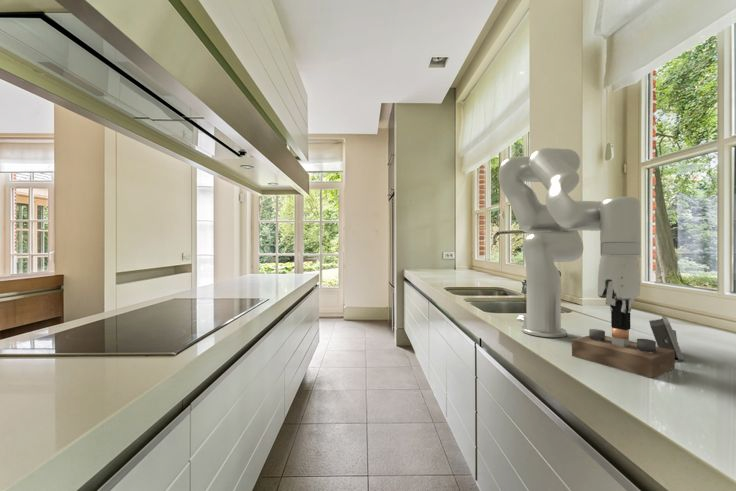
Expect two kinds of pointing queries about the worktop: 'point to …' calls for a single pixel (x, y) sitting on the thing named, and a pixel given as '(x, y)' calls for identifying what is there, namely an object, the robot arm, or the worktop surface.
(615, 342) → the plug middle
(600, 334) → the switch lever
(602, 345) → the wooden socket board
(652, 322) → the electrical switch
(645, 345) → the plug right
